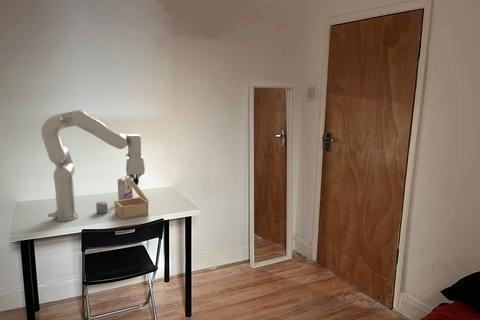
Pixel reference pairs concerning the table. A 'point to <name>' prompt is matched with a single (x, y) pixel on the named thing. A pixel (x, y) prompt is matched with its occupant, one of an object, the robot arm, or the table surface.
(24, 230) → the table surface
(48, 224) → the table surface
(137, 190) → the box lid
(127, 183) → the candy bar box
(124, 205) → the cardboard box
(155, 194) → the table surface
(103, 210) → the grey rounded blob
